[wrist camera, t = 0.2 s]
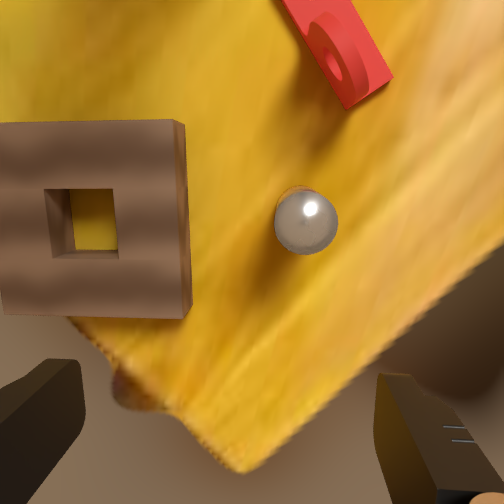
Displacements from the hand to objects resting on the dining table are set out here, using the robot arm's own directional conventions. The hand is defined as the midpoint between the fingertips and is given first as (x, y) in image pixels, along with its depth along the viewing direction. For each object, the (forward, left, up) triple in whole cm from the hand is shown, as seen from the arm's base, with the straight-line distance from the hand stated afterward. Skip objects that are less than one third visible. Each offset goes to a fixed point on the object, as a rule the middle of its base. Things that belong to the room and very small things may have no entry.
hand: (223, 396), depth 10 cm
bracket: (-17, +6, -28) cm, 34 cm away
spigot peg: (-2, +3, -28) cm, 28 cm away
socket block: (-1, -17, -28) cm, 32 cm away
